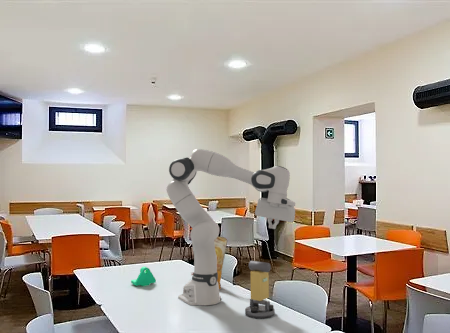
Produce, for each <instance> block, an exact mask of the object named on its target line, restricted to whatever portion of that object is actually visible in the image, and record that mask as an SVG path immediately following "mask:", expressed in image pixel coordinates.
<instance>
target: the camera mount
mask: <svg viewBox="0 0 450 333" xmlns="http://www.w3.org/2000/svg"><path fill="white" fill-rule="evenodd" d="M156 280H157V279H156V278H155V276H154V274H153V272H152V271H151V269H150V268H149V267H147V266H142V267H141V268H140V269H139V274H138V276H137V278H136V279H131V281H130V284H132V285H134V286H136V287H137V286H140V287H147V286H151V284H155V283H157V282H156Z"/></svg>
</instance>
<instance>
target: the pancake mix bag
mask: <svg viewBox="0 0 450 333" xmlns="http://www.w3.org/2000/svg"><path fill="white" fill-rule="evenodd" d="M214 245H215V252H216V255H217V272H218V280H217V282H218V285H219V290H221V289H222V286H221V285H222V283H221V279H222V276H223V275H222V274H223V267H224V261H225V257H226V250H227V247H228V246H227V245H228V239H227V238H226V237H223V236H219V235H218V237H217V238H216V239H215V240H214Z"/></svg>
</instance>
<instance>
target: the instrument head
mask: <svg viewBox="0 0 450 333" xmlns="http://www.w3.org/2000/svg"><path fill="white" fill-rule="evenodd" d="M248 268H249V270H250V299H253V303H258V304H259V305H264V306H265V302H267V301H268V300H266V299H269V298H270V287H269V286H270V284H269V280H270V276H269V273H270V271H271V270H272V269H271V268H272V267H271V264H270V262H264V261H256V260H250V261H249V262H248Z"/></svg>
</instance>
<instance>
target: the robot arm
mask: <svg viewBox="0 0 450 333" xmlns="http://www.w3.org/2000/svg"><path fill="white" fill-rule="evenodd" d="M168 172H169V175H170V177H171V178H172V181H170V182H169V183H168V184H167V185H166V188H165V189H166V193H167V195H168V197H169V200H170V201H171V203H172V205H173V206H174V208H175V210H176V211H177V212H178V215H179V216H180V217H181V219H182V220H183V221H185V223H187V224H188V226H190V228H192V229H191V230H190V234H189V237H190V240H191V244H192V245H191V246H192V250H193V258H194V259H193V260H194V262H193V266H194V268H193V272H192V273H190V276H192V277H191V279H190V281H188V282H187V283H185V285H184V286H183V292H182V294H179V295H178V299H179V300H181V302H182V301H183V302H185V304H188V305H189V306H212V305H216V304H219V303H221V298H222V297H221V295H220V289H219V285H218V282H217V280H218V272H217V255H216V252H215V245H214V240H215V239H216V238H217V237H218V236H219V234H220V226H219V225H218V223H217V222H216V221H215V220H214V219H213V218H212V217H211V215H210V214H209V212H207V211H206V210H205V209H204V208H203V206H202V205H201V204H200V202H199V201H198V199H197V198H196V196H195V194H194V193H193V191H192V190H191V189H190V187H189V185H190V184H191V183H192V181H193V179H194V178H195V177H196V175H197V172H204V173H206V174H208V175H212V176H215V177H223V178H230V179H235V180H238V181H241V182H243V183H246V184H248V185H250V186H252V187H253V188H254V189H255V190H256V191H257V192H260V193H265V192H268V195H267V197H260V198H259V199H258V200H257V205H256V207H255V210H254V214H255V216H256V217H261V218H267V223H268V229H272V230H276V228H277V225H279V223H280V221H283V222H289V223H293V222H294V221H295V219H296V218H295V216H296V209H295V206H296V202H295V201H293V200H292V199H289V198H288V190H289V185H290V179H291V178H290V176H291V175H290V174H291V173H290V170H289V169H287V168H286V167H284V166H281V165H275V166H273V167H270V168H266V169H257V170H256V171H251V170H249V169H246V168H243V167H241V166H239V165H237V164H236V163H234V162H233V161H231V159H229V158H228V157H226V156H225V155H223V154H221V153H218V152H216V151H212V150H209V149H203V148H195V149H194V150H193V151H192V152H191V155H190V157H189V156H188V157H183V158H177V159H174V160H173V161H172V162H171V163H170V165H169V167H168ZM273 220H274V221H273ZM272 221H273V223H272Z"/></svg>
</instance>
